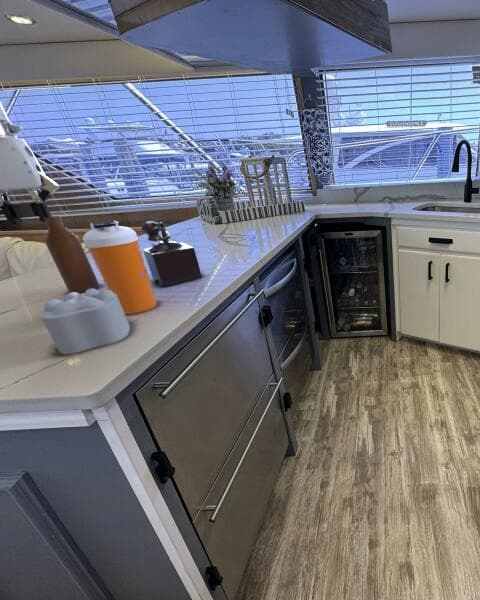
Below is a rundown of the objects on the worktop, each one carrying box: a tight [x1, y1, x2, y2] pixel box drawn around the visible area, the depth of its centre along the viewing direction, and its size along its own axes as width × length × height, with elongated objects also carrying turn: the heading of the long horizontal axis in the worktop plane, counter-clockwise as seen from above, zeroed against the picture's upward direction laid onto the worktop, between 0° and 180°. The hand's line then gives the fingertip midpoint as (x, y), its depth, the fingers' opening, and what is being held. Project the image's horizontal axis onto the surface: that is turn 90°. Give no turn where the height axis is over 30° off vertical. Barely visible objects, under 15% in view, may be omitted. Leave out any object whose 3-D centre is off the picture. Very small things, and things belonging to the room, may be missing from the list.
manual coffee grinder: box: [141, 221, 202, 287], centre depth 90 cm, size 16×11×18 cm
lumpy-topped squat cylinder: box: [40, 289, 131, 355], centre depth 62 cm, size 10×13×9 cm
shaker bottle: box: [82, 219, 158, 315], centre depth 72 cm, size 9×9×20 cm
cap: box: [9, 201, 39, 219], centre depth 71 cm, size 4×4×3 cm
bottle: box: [44, 215, 101, 294], centre depth 86 cm, size 6×6×20 cm
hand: (31, 221), depth 72 cm, fingers closed on cap, 4 cm apart
